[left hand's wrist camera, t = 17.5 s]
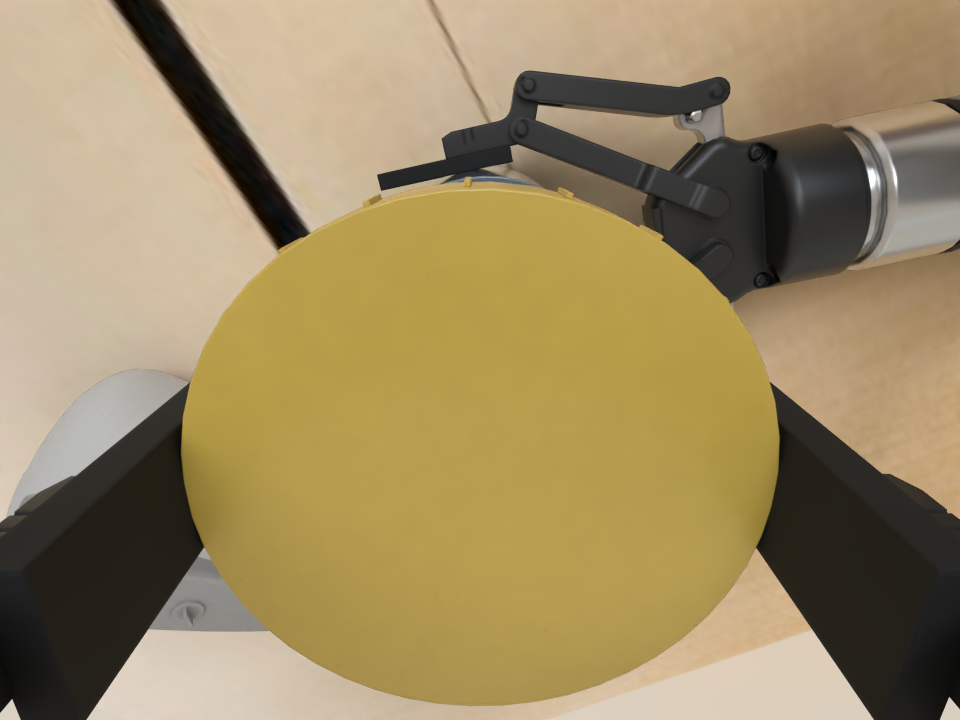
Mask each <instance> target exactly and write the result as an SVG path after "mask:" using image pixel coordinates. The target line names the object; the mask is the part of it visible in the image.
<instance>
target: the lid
mask: <svg viewBox="0 0 960 720" xmlns="http://www.w3.org/2000/svg"><path fill="white" fill-rule="evenodd" d="M573 195H574V194H573V193H571V192H570V191H568V190H566V189H564V188H560V187H558V191H557V192H555V191H551V190H547V189H543V188H539V187H535V186H529V185H520V184H511V183H501V182H492V181H491V182H472V177H465V180H464V182H457V183H446V184H441V185H435V186H429V187H423V188H417V189H411V190H408V191H405V192H402V193H399V194H395V195H392V196H389V197H386V198H383V199H382V198H381V195H380V194H379V195H376V196H374V197H371V198H369V199H367V200H365V201H363V204H364V206H363V207H361V208H359V209H357V210H355V211H353V212H350V213H348V214H346V215H344V216H342V217H340V218H338V219H336V220H334V221H332V222H330V223H328V224H326V225H324V226H322V227H321V228H319V229H317V230H315V231H314V232H312V233H311V234H309V235H308V236H306V237H305V238H300V239H298V240H296V241H294V242H292V243H290V244H288V245H286V246H284V247H282V248H281V249H280V250H279V251H278V252H279V253H280V254H279V255H278V256H277V257H276V258H275V259H274V260H273V261H272V262H270V263H269V264H268V265H267V266H266V267H265V268H264V269H263V270H262V271H261V272H259V273H258V274H257V275H256V276H255V277H254V278H253V279H252V280H251V281H250V282H249V283H248V284H247V285H246V286H245V287H244V289H243V290H242V291H241V292H240V294H239V295H238V296H237V297H236V299H235V300H234V301H233V302H232V303H231V305H230V306H229V307H228V308H227V310H226V311H225V312H224V313H223V315H222V316H221V318H220V320H219V322H218V324H217V325H216V327H215V329H214V330H213V332H212V334H211V336H210V337H209V339H208V341H207V342H206V344H205V346H204V348H203V351H202V353H201V356H200V358H199V361H198V363H197V366H196V369H195V371H194V374H193V376H192V379H191V382H190V386H189V391H188V396H187V400H186V405H185V409H184V414H183V424H182V442H181V458H182V468H183V478H184V484H185V489H186V493H187V498H188V502H189V506H190V511H191V515H192V518H193V521H194V523H195V526H196V528H197V531H198V533H199V536H200V538H201V540H202V543H203V545H204V548H205V550H206V551H207V553H208V555H209V557H210V558H211V560H212V562H213V564H214V565H215V567H216V569H217V571H218V572H219V574H220V576H221V577H222V579H223V580H224V581H225V582H226V584H227V585H228V586H229V588H230V589H231V590H232V592H233V593H234V594H235V596H236V597H237V598H238V600H239V601H240V602H241V603H242V604H243V605H244V606H245V607H246V608H247V609H248V610H249V611H250V612H251V613H252V614H253V615H254V617H255V618H256V619H257V620H258V621H259V622H260V623H261V624H262V625H263V626H264V627H266V628H267V629H268V630H269V631H271V632H272V633H273V634H274V635H276V636H277V637H278V638H279V639H281V640H282V641H283V642H284V643H285V644H287V645H288V646H289V647H291V648H292V649H294V650H296V651H297V652H299V653H300V654H302V655H303V656H305V657H306V658H308V659H310V660H311V661H313V662H314V663H316V664H318V665H320V666H322V667H324V668H326V669H328V670H330V671H332V672H334V673H336V674H338V675H340V676H342V677H344V678H346V679H349V680H351V681H354V682H357V683H359V684H362V685H364V686H367V687H370V688H372V689H375V690H379V691H382V692H386V693H390V694H393V695H397V696H401V697H404V698H409V699H415V700H421V701H426V702H432V703H438V704H451V705H464V706H496V705H511V704H520V703H528V702H537V701H541V700H546V699H551V698H555V697H560V696H565V695H569V694H572V693H575V692H578V691H582V690H585V689H588V688H591V687H594V686H597V685H600V684H602V683H605V682H607V681H609V680H612V679H614V678H616V677H619V676H621V675H623V674H626V673H628V672H630V671H632V670H633V669H635V668H637V667H639V666H641V665H642V664H644V663H646V662H648V661H650V660H651V659H653V658H655V657H657V656H658V655H660V654H661V653H662V652H664V651H665V650H667V649H668V648H669V647H671V646H672V645H674V644H675V643H677V642H678V641H679V640H681V639H682V638H683V637H685V636H686V635H687V634H688V633H689V632H690V631H691V630H692V629H694V628H695V627H696V626H697V625H698V624H699V623H700V622H701V621H703V620H704V619H705V618H706V617H707V616H708V615H709V614H710V613H711V611H712V610H713V609H714V608H715V607H716V606H717V605H718V604H719V602H720V601H721V600H722V599H723V598H724V597H725V596H726V595H727V593H728V592H729V591H730V589H731V588H732V586H733V585H734V584H735V582H736V581H737V579H738V578H739V576H740V575H741V573H742V572H743V570H744V569H745V567H746V566H747V564H748V562H749V560H750V558H751V556H752V554H753V552H754V550H755V548H756V546H757V544H758V542H759V540H760V538H761V536H762V534H763V531H764V528H765V525H766V522H767V519H768V516H769V513H770V510H771V506H772V501H773V496H774V492H775V487H776V482H777V477H778V472H779V441H780V436H779V428H778V420H777V412H776V404H775V399H774V396H773V392H772V389H771V385H770V382H769V378H768V375H767V371H766V368H765V365H764V363H763V361H762V359H761V357H760V354H759V352H758V350H757V348H756V346H755V344H754V342H753V340H752V337H751V335H750V333H749V331H748V330H747V328H746V327H745V325H744V324H743V323H742V321H741V320H740V318H739V317H738V315H737V314H736V312H735V311H734V309H733V308H732V306H731V305H730V303H729V300H728V299H727V297H725V296H723V295H722V294H721V293H720V292H719V290H718V289H717V288H716V287H715V286H714V285H713V284H712V283H711V282H710V281H709V280H708V279H707V278H706V276H705V275H704V274H703V273H702V272H701V271H700V270H699V269H698V268H696V267H695V266H694V265H693V264H691V263H690V262H689V261H688V260H686V259H685V258H684V257H683V256H681V255H680V254H679V253H678V252H676V251H675V250H674V249H673V248H671V247H670V246H669V245H668V244H666V243H665V242H663V241H661V240H662V238H663V236H662V235H661V234H659V233H657V232H655V231H653V230H651V229H649V228H647V227H645V226H643V225H640V226H639V227H637V226H636V225H634V224H632V223H630V222H629V221H627V220H625V219H623V218H621V217H619V216H617V215H615V214H613V213H611V212H609V211H608V210H605V209H603V208H600V207H598V206H595V205H593V204H590V203H588V202H585V201H583V200H581V199H578V198H576V197H573Z"/></svg>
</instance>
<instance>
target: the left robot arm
mask: <svg viewBox="0 0 960 720" xmlns="http://www.w3.org/2000/svg"><path fill="white" fill-rule="evenodd" d="M770 385H771V389H772V392H773V396H774V399H775V404H776V412H777V420H778V428H779V436H780V441H779V472H778V477H777V482H776V487H775V492H774V496H773V501H772V506H771V510H770V513H769V516H768V519H767V522H766V525H765V528H764V531H763V534H762V536H761V538H760V540H759V542H758V544H757V546H756V548H757V549H758V551H759V552H760V554H761V555H762V557H763V558H764V560H765V561H766V563H767V564H768V565H769V567H770V568H771V570H772V571H773V573H774V574H775V576H776V577H777V579H778V580H779V582H780V583H781V584H782V586H783V587H784V589H785V590H786V592H787V593H788V595H789V596H790V598H791V599H792V601H793V602H794V603H795V605H796V606H797V608H798V609H799V611H800V612H801V614H802V615H803V617H804V618H805V620H806V621H807V622H808V624H809V625H810V627H811V628H812V630H813V631H814V633H815V634H816V636H817V637H818V638H819V640H820V641H821V643H822V644H823V646H824V647H825V649H826V650H827V652H828V653H829V655H830V656H831V657H832V659H833V660H834V662H835V663H836V665H837V666H838V668H839V669H840V671H841V672H842V674H843V675H844V676H845V678H846V679H847V681H848V682H849V684H850V685H851V687H852V688H853V690H854V691H855V693H856V694H857V695H858V697H859V698H860V700H861V701H862V703H863V704H864V706H865V707H866V709H867V710H868V712H869V713H870V714H871V716H872V717H873V719H874V720H940V718H941V715H942V713H943V710H944V708H945V706H946V703H947V701H948V698H949V697H950V698H951V699H952V700H953V702H954V703H955V704H956V705H957V706H958V707H959V709H960V519H958V518H957V517H956V516H954V515H953V514H952V513H947V509H945V508H944V507H943V506H942V505H940V504H939V503H938V502H937V501H935V500H934V499H933V498H931V497H930V496H929V495H928V494H926V493H925V492H924V491H922V490H921V489H919V488H917V487H915V486H913V485H911V484H909V483H907V482H905V481H903V480H901V479H899V478H897V477H895V476H893V475H891V474H882V473H880V472H879V471H878V470H877V469H876V468H874V467H873V466H872V465H871V464H870V463H868V462H867V461H866V460H865V459H863V458H862V457H861V456H860V455H859V454H857V453H856V452H855V451H854V450H852V449H851V448H850V447H849V446H848V445H846V444H845V443H844V442H843V441H841V440H840V439H839V438H838V437H837V436H835V435H834V434H833V433H832V432H830V431H829V430H828V429H827V428H826V427H824V426H823V425H822V424H821V423H819V422H818V421H817V420H816V419H815V418H813V417H812V416H811V415H810V414H808V413H807V412H806V411H805V410H804V409H802V408H801V407H800V406H799V405H798V404H796V403H795V402H794V401H793V400H791V399H790V398H789V397H788V396H787V395H785V394H784V393H783V392H782V391H780V390H779V389H778V388H777V387H776V386H774V385H773V384H772V383H771V382H770ZM189 386H190V383H188V384H187V385H186V386H185V387H184V388H182V389H181V390H180V391H179V392H178V393H176V394H175V395H174V396H173V397H171V398H170V399H169V400H168V401H167V402H165V403H164V404H163V405H162V406H160V407H159V408H158V409H157V410H156V411H154V412H153V413H152V414H151V415H149V416H148V417H147V418H146V419H145V420H143V421H142V422H141V423H140V424H138V425H137V426H136V427H135V428H134V429H132V430H131V431H130V432H129V433H128V434H126V435H125V436H124V437H123V438H121V439H120V440H119V441H118V442H117V443H115V444H114V445H113V446H112V447H110V448H109V449H108V450H107V451H106V452H104V453H103V454H102V455H101V456H99V457H98V458H97V459H96V460H95V461H93V462H92V463H91V464H90V465H88V466H87V467H86V468H85V469H84V470H82V471H81V472H80V473H79V474H78V475H76V476H70V477H68V478H66V479H64V480H62V481H60V482H58V483H56V484H54V485H52V486H50V487H48V488H46V489H44V490H42V491H40V492H39V493H37V494H36V495H35V496H34V497H32V498H31V499H30V500H28V501H27V502H26V503H25V504H23V505H22V506H21V507H20V508H18V509H17V510H16V511H15V512H14V515H9V516H8V517H7V518H6V519H4V520H3V521H2V522H1V523H0V712H1V711H2V710H3V709H4V708H5V707H6V705H7V704H8V703H9V702H10V701H11V699H13V702H14V704H15V707H16V709H17V712H18V714H19V716H20V719H21V720H86V719H87V718H88V717H89V715H90V714H91V712H92V711H93V709H94V708H95V706H96V705H97V703H98V702H99V700H100V699H101V698H102V696H103V695H104V693H105V692H106V690H107V689H108V687H109V686H110V684H111V683H112V681H113V680H114V679H115V677H116V676H117V674H118V673H119V671H120V670H121V668H122V667H123V665H124V664H125V662H126V661H127V660H128V658H129V657H130V655H131V654H132V652H133V651H134V649H135V648H136V646H137V645H138V643H139V642H140V641H141V639H142V638H143V636H144V635H145V633H146V632H147V630H148V629H149V627H150V626H151V624H152V623H153V622H154V620H155V619H156V617H157V616H158V614H159V613H160V611H161V610H162V608H163V607H164V605H165V604H166V603H167V601H168V600H169V598H170V597H171V595H172V594H173V592H174V591H175V589H176V588H177V586H178V585H179V584H180V582H181V581H182V579H183V578H184V576H185V575H186V573H187V572H188V570H189V569H190V567H191V566H192V565H193V563H194V562H195V560H196V559H197V557H198V556H199V554H200V553H201V551H202V550H203V548H204V545H203V543H202V540H201V538H200V536H199V533H198V531H197V528H196V526H195V523H194V521H193V518H192V515H191V511H190V506H189V502H188V498H187V493H186V489H185V484H184V478H183V468H182V458H181V442H182V424H183V414H184V409H185V405H186V400H187V396H188V391H189Z"/></svg>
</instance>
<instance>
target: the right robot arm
mask: <svg viewBox="0 0 960 720" xmlns="http://www.w3.org/2000/svg"><path fill="white" fill-rule="evenodd" d="M729 94H730V85H729V82H728V81H727V80H726V79H725V78H722V77H715V78H711V79H708V80H704V81H700V82H697V83H693V84H689V85H686V86H682V87H672V86H663V85H654V84H645V83H636V82H627V81H619V80H610V79H601V78H592V77H583V76H574V75H565V74H556V73H547V72H538V71H525V72H523V73H521V74H520V75H519V77H518V78H517V80H516V82H515V84H514V88H513V96H512V102H511V109H510V112H509V114H508V115H507V117H506V118H504V119H503V120H500V121H497V122H493V123H488V124H484V125H480V126H475V127H471V128H466V129H462V130H458V131H453V132H450V133H449V134H448V135H446V136H445V137H443V138H442V142H443V147H444V151H445V156H446V159H445V160H440V161H436V162H431V163H427V164H422V165H418V166H413V167H409V168H405V169H400V170H396V171H391V172H387V173H383V174H379V175H377V176H378V180H379V184H380V188H381V191H382V190H387V189H391V188H396V187H400V186H405V185H410V184H414V183H419V182H423V181H428V180H432V179H437V178H441V177H446V176H450V175H455V174H459V173H464V172H468V171H473V170H477V169H482V168H486V167H491V166H496V165H500V164H505V163H509V162H513V160H512V154H511V149H510V146H513V145H517V144H518V145H521V146H524V147H526V148H529V149H531V150H534V151H537V152H539V153H542V154H545V155H547V156H550V157H552V158H555V159H558V160H560V161H563V162H566V163H568V164H571V165H573V166H576V167H579V168H581V169H584V170H586V171H589V172H592V173H594V174H597V175H600V176H602V177H605V178H607V179H610V180H613V181H615V182H618V183H621V184H623V185H626V186H628V187H630V188H633V189H636V190H638V191H641V192H643V193H646V194H648V196H647V198H646V202H645V205H643V206H642V212H643V220H644V223H645V225H646V227H647V228H649V229H651V230H653V231H655V232H657V233H659V234H661V235H662V236H663V238H662V240H661V241H663V242H665V243H666V244H668V245H669V246H670V247H671V248H673V249H674V250H675V251H676V252H678V253H679V254H680V255H681V256H683V257H684V258H685V259H686V260H688V261H689V262H690V263H691V264H693V265H694V266H695V267H696V268H698V269H699V270H700V271H701V272H702V273H703V274H704V275H705V276H706V278H707V279H708V280H709V281H710V282H711V283H712V284H713V285H714V286H715V287H716V288H717V289H718V290H719V292H720V293H721V294H722V295H723V296H725V297H727V299H728V300H729V303H730V305H731V306H732V308H733V309H734V302H735V301H737V300H739V299H740V298H741V297H742V296H744V295H745V294H747V293H749V292H751V291H753V290H756V289H760V288H767V287H774V286H779V285H784V284H789V283H794V282H799V281H804V280H809V279H814V278H819V277H824V276H830V275H835V274H838V273H840V272H842V271H844V270H845V269H848V270H862V269H867V268H872V267H877V266H881V265H886V264H891V263H895V262H900V261H905V260H909V259H914V258H919V257H923V256H928V255H933V254H941V253H946V252H951V251H954V250H959V249H960V96H955V97H951V98H947V99H937V100H932V101H926V102H922V103H917V104H912V105H907V106H903V107H898V108H893V109H888V110H884V111H879V112H874V113H870V114H865V115H860V116H855V117H851V118H846V119H843V120H839V121H837V122H835V123H834V124H833V125H828V124H818V125H813V126H809V127H804V128H800V129H795V130H790V131H786V132H781V133H776V134H772V135H767V136H763V137H758V138H753V139H749V140H743V141H739V140H734V139H732V138H729V137H725V130H724V120H723V109H722V103H724V102H725V101H726V100H727V99H728V96H729ZM538 105H543V106H552V107H561V108H570V109H579V110H588V111H598V112H607V113H616V114H625V115H634V116H643V117H656V118H659V117H669V116H673V121H674V125H675V126H676V127H677V128H678V129H679V130H686V131H692V132H693V133H695V135H696V136H697V139H698V142H697V143H696V144H695V145H694V146H693V147H692V148H691V149H690V150H689V151H688V152H687V153H686V154H685V155H684V156H683V157H682V158H681V159H680V160H679V161H678V162H677V163H676V164H675V166H674V167H673V168H672V169H671V170H670V171H667V170H665V169H662V168H659V167H657V166H654V165H651V164H647V163H644V162H642V161H639V160H637V159H634V158H631V157H629V156H626V155H624V154H621V153H619V152H616V151H613V150H611V149H608V148H606V147H603V146H601V145H598V144H595V143H593V142H590V141H588V140H585V139H582V138H580V137H577V136H575V135H572V134H570V133H567V132H564V131H562V130H559V129H557V128H554V127H552V126H549V125H546V124H544V123H541V122H539V121H536V120H535V119H536V113H537V107H538Z"/></svg>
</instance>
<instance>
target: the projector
mask: <svg viewBox="0 0 960 720" xmlns="http://www.w3.org/2000/svg"><path fill="white" fill-rule="evenodd" d="M188 383H189V382H187V381H185V380H182V379H180V378H178V377H176V376H173V375H171V374H168V373H165V372H161V371H157V370H151V369H131V370H127V371H122V372H119V373H117V374H114V375H112V376H110V377H108V378H106V379H104V380H102V381H101V382H99V383H97V384H96V385H95V386H93V387H92V388H90V389H89V390H88V391H86V392H85V393H84V394H83V395H82V396H80V397H79V398H78V399H77V400H76V401H75V402H74V403H73V404H72V405H71V406H70V407H69V408H68V409H67V411H66V412H65V413H64V414H63V416H62V417H61V418H60V419H59V421H58V422H57V423H56V425H55V426H54V427H53V429H52V430H51V431H50V433H49V434H48V436H47V437H46V438H45V440H44V441H43V443H42V444H41V446H40V447H39V449H38V450H37V452H36V454H35V456H34V458H33V460H32V462H31V463H30V465H29V467H28V468H27V469H26V471H25V472H24V474H23V476H22V478H21V480H20V482H19V484H18V486H17V488H16V490H15V493H14V495H13V498H12V500H11V503H10V506H9V509H8V512H7V517H8V516H9V515H14V512H15V511H16V510H17V509H18V508H20V507H21V506H22V505H23V504H25V503H26V502H27V501H28V500H30V499H31V498H32V497H34V496H35V495H36V494H37V493H39V492H40V491H42V490H44V489H46V488H48V487H50V486H52V485H54V484H56V483H58V482H60V481H62V480H64V479H66V478H68V477H70V476H76V475H78V474H79V473H80V472H81V471H82V470H84V469H85V468H86V467H87V466H88V465H90V464H91V463H92V462H93V461H95V460H96V459H97V458H98V457H99V456H101V455H102V454H103V453H104V452H106V451H107V450H108V449H109V448H110V447H112V446H113V445H114V444H115V443H117V442H118V441H119V440H120V439H121V438H123V437H124V436H125V435H126V434H128V433H129V432H130V431H131V430H132V429H134V428H135V427H136V426H137V425H138V424H140V423H141V422H142V421H143V420H145V419H146V418H147V417H148V416H149V415H151V414H152V413H153V412H154V411H156V410H157V409H158V408H159V407H160V406H162V405H163V404H164V403H165V402H167V401H168V400H169V399H170V398H171V397H173V396H174V395H175V394H176V393H178V392H179V391H180V390H181V389H182V388H184V387H185V386H186V385H187V384H188ZM7 517H6V518H7ZM149 629H159V630H184V631H269V630H268V629H267V628H266V627H264V626H263V625H262V624H261V623H260V622H259V621H258V620H257V619H256V618H255V617H254V615H253V614H252V613H251V612H250V611H249V610H248V609H247V608H246V607H245V606H244V605H243V604H242V603H241V602H240V601H239V600H238V598H237V597H236V596H235V594H234V593H233V592H232V590H231V589H230V588H229V586H228V585H227V584H226V582H225V581H224V580H223V579H222V577H221V576H220V574H219V572H218V571H217V569H216V567H215V565H214V564H213V562H212V560H211V558H210V557H209V555H208V553H207V551H206V550H205V548H203V550H202V551H201V553H200V554H199V556H198V557H197V559H196V560H195V562H194V563H193V565H192V566H191V567H190V569H189V570H188V572H187V573H186V575H185V576H184V578H183V579H182V581H181V582H180V584H179V585H178V586H177V588H176V589H175V591H174V592H173V594H172V595H171V597H170V598H169V600H168V601H167V603H166V604H165V605H164V607H163V608H162V610H161V611H160V613H159V614H158V616H157V617H156V619H155V620H154V622H153V623H152V624H151V626H150V627H149Z"/></svg>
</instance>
